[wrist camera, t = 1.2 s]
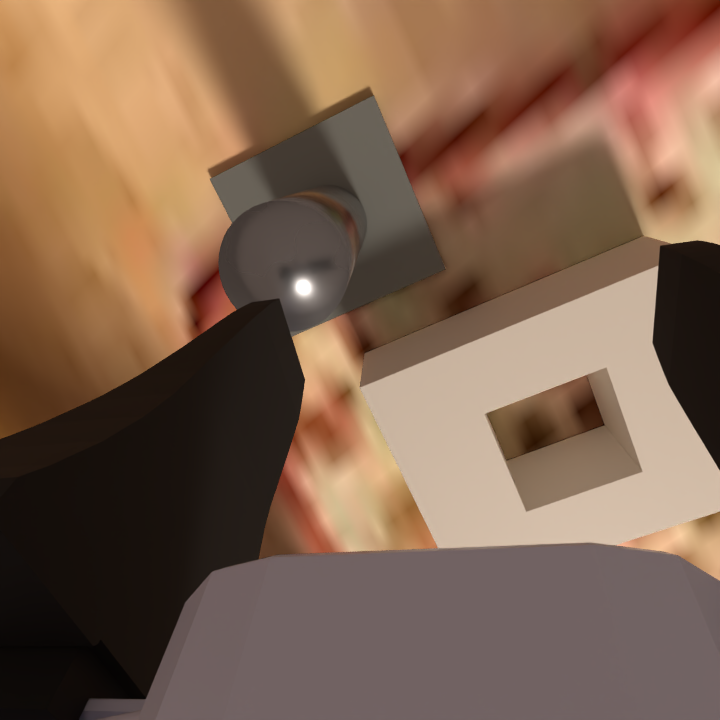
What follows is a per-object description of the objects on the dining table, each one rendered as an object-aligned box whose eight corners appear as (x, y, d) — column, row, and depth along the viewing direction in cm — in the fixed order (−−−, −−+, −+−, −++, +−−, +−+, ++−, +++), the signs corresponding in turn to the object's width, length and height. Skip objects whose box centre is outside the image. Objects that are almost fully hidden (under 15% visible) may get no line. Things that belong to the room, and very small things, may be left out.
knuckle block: (451, 535, 27) (461, 595, 23) (364, 353, 24) (359, 387, 21) (707, 446, 25) (764, 497, 21) (643, 235, 22) (695, 250, 18)
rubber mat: (291, 334, 24) (290, 337, 24) (211, 178, 22) (209, 179, 22) (444, 267, 23) (445, 269, 23) (374, 96, 21) (373, 95, 21)
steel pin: (312, 274, 23) (256, 350, 14) (278, 205, 22) (194, 235, 13) (379, 243, 23) (370, 301, 13) (347, 171, 22) (313, 177, 12)
